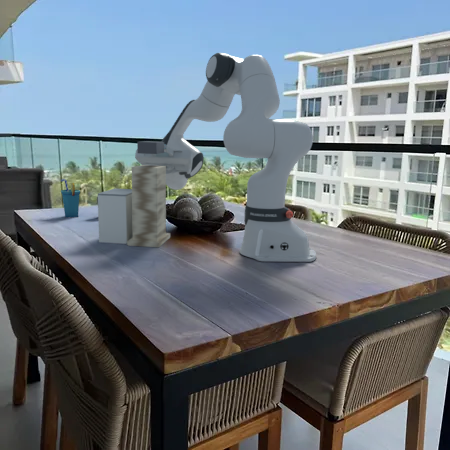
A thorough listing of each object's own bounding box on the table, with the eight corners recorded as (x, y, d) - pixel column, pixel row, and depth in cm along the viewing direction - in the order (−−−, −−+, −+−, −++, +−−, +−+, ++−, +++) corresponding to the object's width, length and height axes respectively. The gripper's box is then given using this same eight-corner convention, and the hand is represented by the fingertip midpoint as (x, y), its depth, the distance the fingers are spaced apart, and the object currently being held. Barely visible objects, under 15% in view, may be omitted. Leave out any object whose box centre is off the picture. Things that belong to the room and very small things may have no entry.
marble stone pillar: (170, 237, 152) (170, 165, 148) (158, 247, 139) (158, 168, 134) (141, 235, 154) (140, 164, 149) (127, 245, 140) (126, 167, 135)
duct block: (140, 234, 156) (139, 189, 153) (126, 243, 142) (125, 194, 139) (115, 233, 157) (114, 188, 154) (99, 242, 143) (97, 193, 140)
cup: (53, 214, 188) (52, 178, 185) (71, 212, 193) (70, 177, 190) (69, 219, 178) (67, 181, 175) (87, 217, 183) (86, 180, 180)
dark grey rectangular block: (170, 151, 155) (170, 141, 155) (156, 154, 138) (156, 142, 138) (153, 151, 156) (153, 140, 156) (137, 153, 139) (137, 141, 139)
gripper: (142, 156, 168) (131, 137, 155) (196, 158, 165) (190, 139, 152) (139, 171, 166) (128, 154, 153) (194, 173, 163) (187, 156, 150)
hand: (159, 146), depth 152 cm, fingers closed on dark grey rectangular block, 2 cm apart
